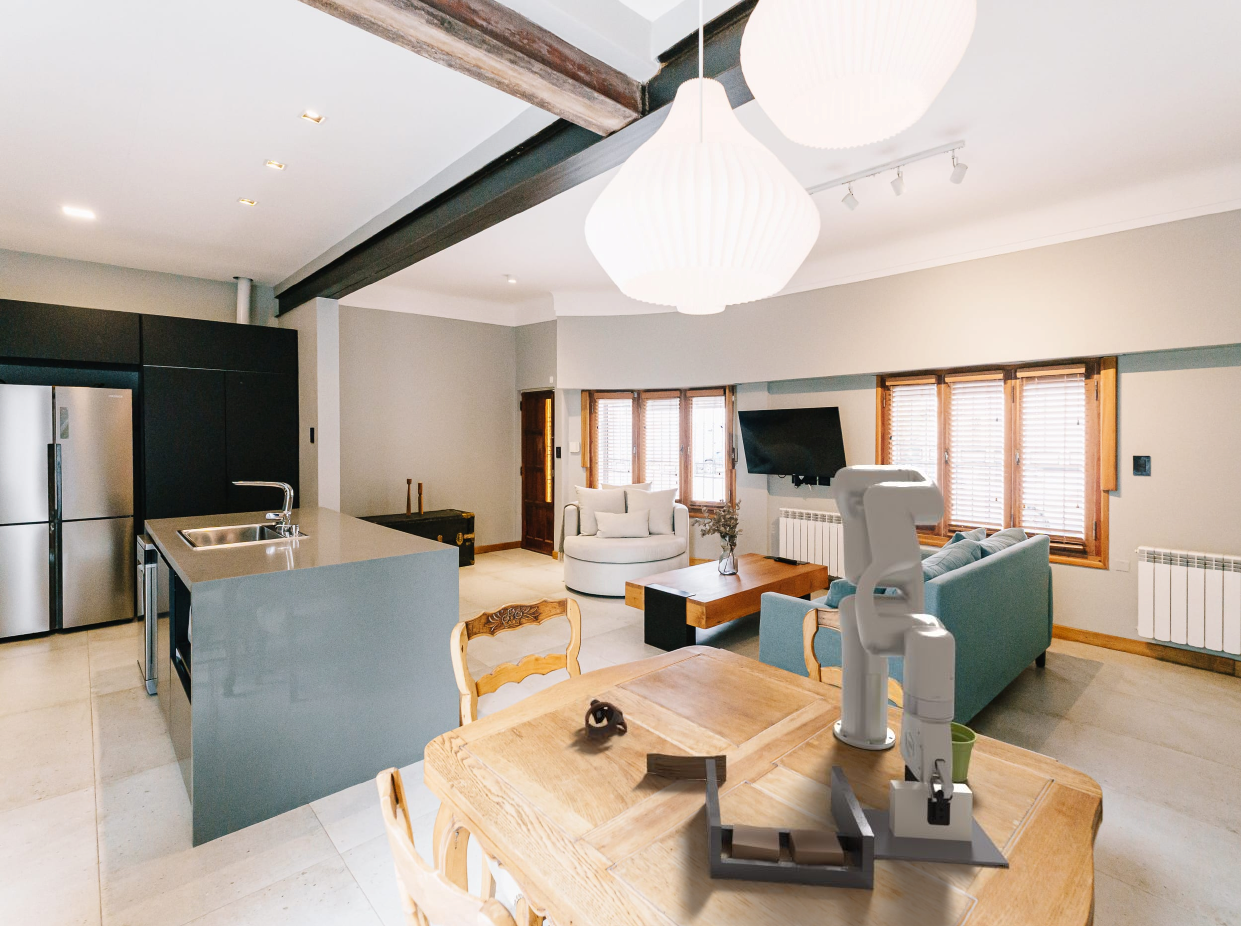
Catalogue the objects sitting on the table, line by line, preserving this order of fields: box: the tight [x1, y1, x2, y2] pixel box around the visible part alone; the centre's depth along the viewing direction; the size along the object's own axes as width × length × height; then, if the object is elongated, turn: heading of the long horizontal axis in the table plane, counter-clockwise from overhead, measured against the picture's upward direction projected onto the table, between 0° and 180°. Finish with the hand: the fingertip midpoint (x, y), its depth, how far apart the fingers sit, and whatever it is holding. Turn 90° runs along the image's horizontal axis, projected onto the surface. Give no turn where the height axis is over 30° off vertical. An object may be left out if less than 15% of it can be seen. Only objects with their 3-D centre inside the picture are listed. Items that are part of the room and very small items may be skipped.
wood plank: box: [646, 752, 727, 781], centre depth 117 cm, size 15×2×5 cm, turn 85°
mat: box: [861, 808, 1010, 867], centre depth 100 cm, size 12×20×1 cm, turn 84°
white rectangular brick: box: [889, 779, 973, 841], centre depth 100 cm, size 2×12×8 cm, turn 84°
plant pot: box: [936, 721, 978, 783], centre depth 119 cm, size 9×9×9 cm
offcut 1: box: [731, 822, 781, 862], centre depth 95 cm, size 5×7×4 cm
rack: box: [705, 759, 875, 890], centre depth 99 cm, size 19×24×8 cm
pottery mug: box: [584, 698, 628, 741], centre depth 135 cm, size 12×10×8 cm
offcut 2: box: [788, 828, 845, 866], centre depth 93 cm, size 5×7×4 cm
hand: (925, 805), depth 100 cm, fingers open, 9 cm apart
